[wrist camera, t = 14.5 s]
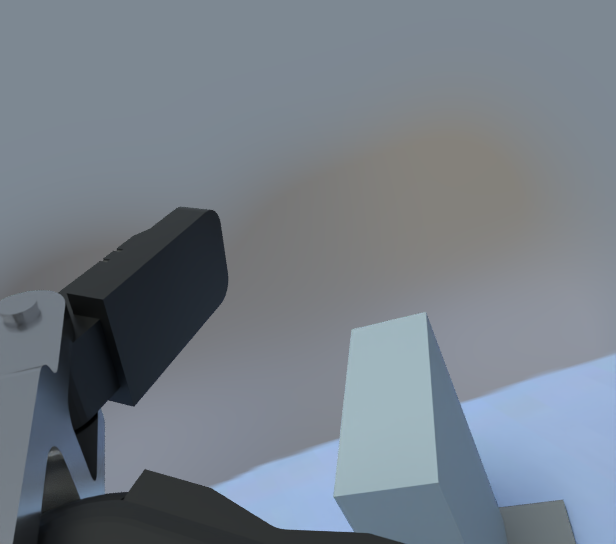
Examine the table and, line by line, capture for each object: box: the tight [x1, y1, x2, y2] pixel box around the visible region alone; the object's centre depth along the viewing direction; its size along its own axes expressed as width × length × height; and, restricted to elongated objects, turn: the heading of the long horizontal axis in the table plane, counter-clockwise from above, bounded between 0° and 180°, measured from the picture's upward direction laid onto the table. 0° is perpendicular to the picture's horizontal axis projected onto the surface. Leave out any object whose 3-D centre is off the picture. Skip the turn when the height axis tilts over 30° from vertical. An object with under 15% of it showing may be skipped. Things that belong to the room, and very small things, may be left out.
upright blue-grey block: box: [333, 312, 508, 544], centre depth 28 cm, size 4×10×18 cm, turn 172°
